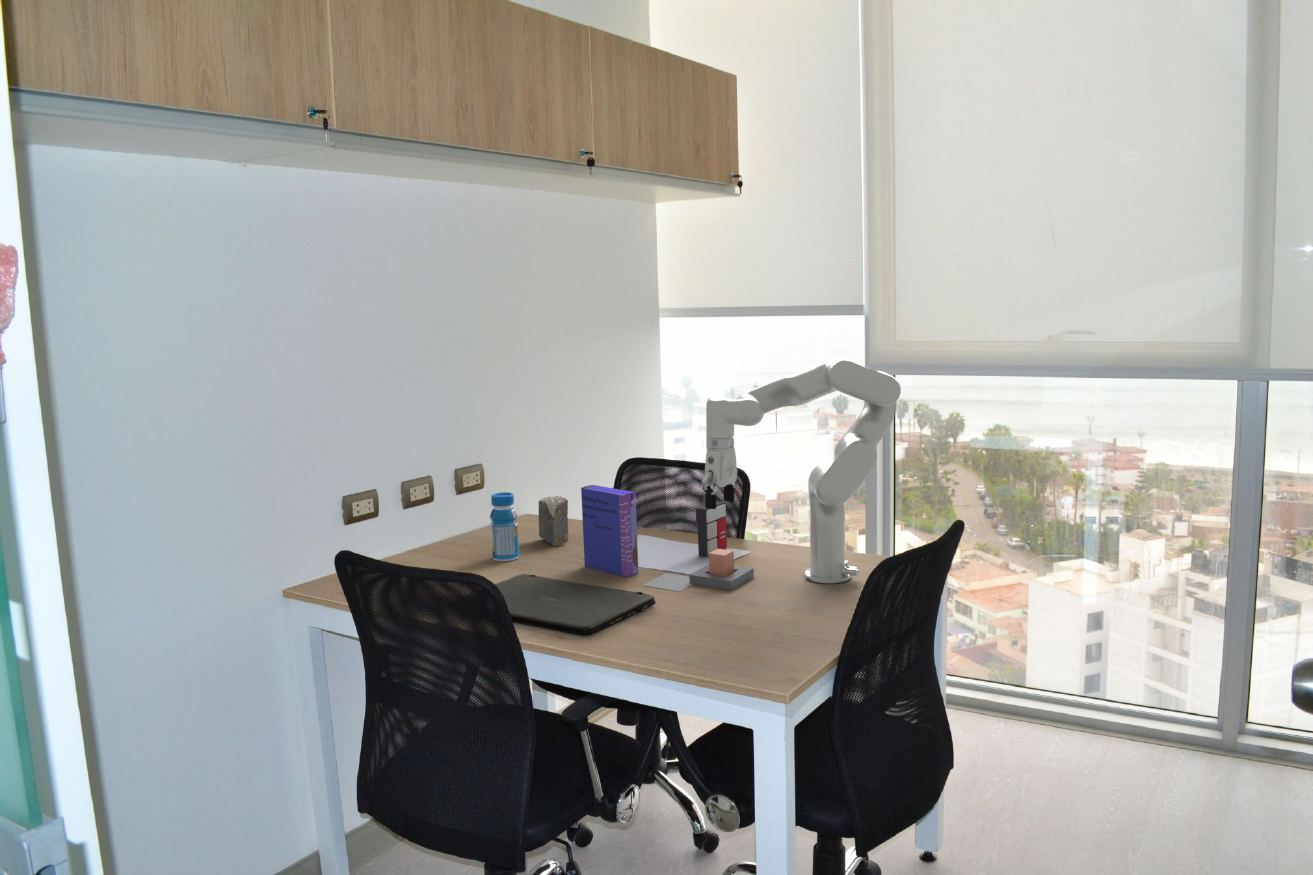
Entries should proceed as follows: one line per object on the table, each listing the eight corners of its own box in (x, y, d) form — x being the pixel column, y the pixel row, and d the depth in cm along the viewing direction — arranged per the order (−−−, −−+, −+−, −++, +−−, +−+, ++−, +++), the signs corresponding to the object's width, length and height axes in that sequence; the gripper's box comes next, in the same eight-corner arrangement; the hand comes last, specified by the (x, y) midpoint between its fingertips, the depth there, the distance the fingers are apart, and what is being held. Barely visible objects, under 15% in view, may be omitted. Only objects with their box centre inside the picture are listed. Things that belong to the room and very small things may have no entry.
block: (734, 578, 270) (733, 550, 268) (725, 583, 266) (724, 555, 264) (718, 576, 273) (717, 548, 271) (709, 581, 268) (708, 553, 267)
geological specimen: (538, 540, 318) (536, 495, 315) (555, 537, 321) (553, 492, 319) (553, 547, 309) (551, 501, 306) (570, 544, 312) (568, 498, 310)
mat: (702, 581, 270) (702, 579, 270) (679, 593, 260) (679, 591, 260) (666, 575, 277) (666, 573, 277) (642, 587, 267) (642, 584, 267)
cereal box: (638, 573, 279) (635, 491, 275) (626, 577, 276) (623, 494, 272) (596, 562, 291) (593, 484, 287) (584, 566, 288) (581, 487, 284)
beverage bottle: (501, 563, 293) (497, 499, 290) (486, 558, 299) (482, 494, 296) (525, 557, 298) (521, 494, 295) (510, 552, 305) (506, 490, 301)
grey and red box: (708, 558, 291) (707, 509, 289) (696, 556, 294) (695, 508, 291) (728, 549, 300) (727, 502, 297) (716, 547, 302) (715, 500, 300)
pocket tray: (753, 578, 271) (753, 568, 271) (731, 592, 260) (731, 581, 260) (713, 572, 278) (712, 561, 278) (689, 584, 267) (689, 574, 267)
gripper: (715, 449, 255) (715, 513, 257) (747, 439, 269) (747, 500, 272) (691, 446, 259) (691, 509, 262) (724, 437, 273) (724, 497, 276)
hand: (719, 504), depth 267 cm, fingers open, 9 cm apart
